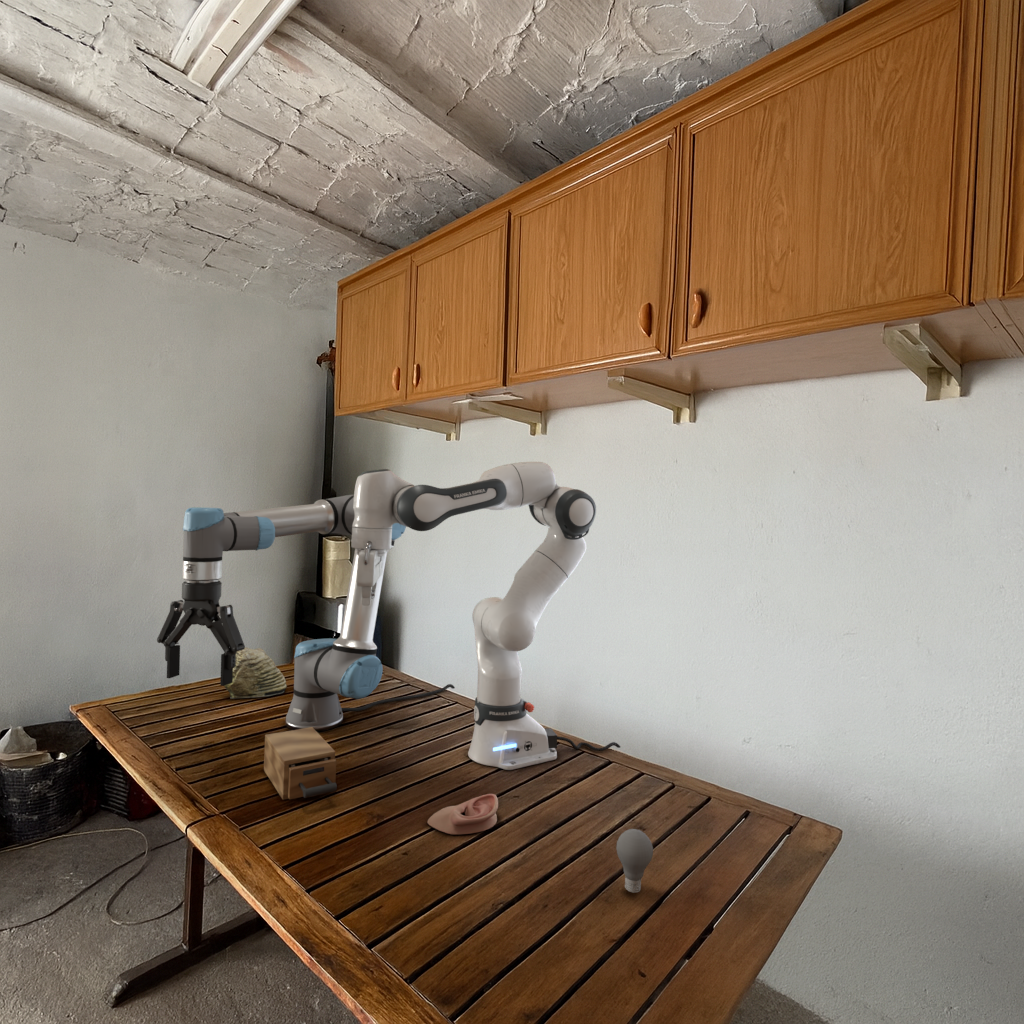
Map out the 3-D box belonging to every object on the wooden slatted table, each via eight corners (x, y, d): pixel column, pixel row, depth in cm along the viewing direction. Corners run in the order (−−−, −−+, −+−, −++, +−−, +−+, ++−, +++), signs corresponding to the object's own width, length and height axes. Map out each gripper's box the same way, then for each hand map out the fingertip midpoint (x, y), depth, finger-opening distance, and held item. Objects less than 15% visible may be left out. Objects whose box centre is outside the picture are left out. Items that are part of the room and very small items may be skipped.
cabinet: (333, 788, 138) (335, 751, 138) (282, 800, 132) (284, 760, 132) (310, 760, 151) (312, 726, 151) (263, 770, 145) (265, 734, 145)
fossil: (218, 695, 195) (220, 647, 195) (278, 685, 208) (279, 640, 207) (228, 703, 189) (230, 653, 188) (289, 692, 201) (290, 645, 201)
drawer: (343, 799, 131) (345, 770, 131) (296, 811, 125) (297, 780, 125) (313, 763, 148) (314, 736, 148) (270, 771, 142) (271, 744, 142)
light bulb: (610, 879, 108) (613, 822, 108) (644, 879, 109) (647, 822, 109) (619, 902, 102) (622, 840, 102) (655, 901, 103) (658, 840, 103)
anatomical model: (422, 809, 122) (441, 784, 133) (421, 830, 122) (440, 802, 133) (489, 819, 119) (502, 792, 130) (488, 840, 119) (502, 811, 130)
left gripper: (139, 578, 133) (137, 678, 134) (240, 587, 127) (237, 692, 127) (167, 574, 141) (165, 669, 141) (264, 582, 134) (261, 682, 135)
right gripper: (381, 544, 133) (378, 610, 133) (389, 538, 153) (386, 595, 153) (351, 543, 132) (347, 609, 132) (362, 537, 153) (360, 594, 153)
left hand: (199, 680), depth 134 cm, fingers open, 13 cm apart
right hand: (368, 601), depth 143 cm, fingers open, 8 cm apart
